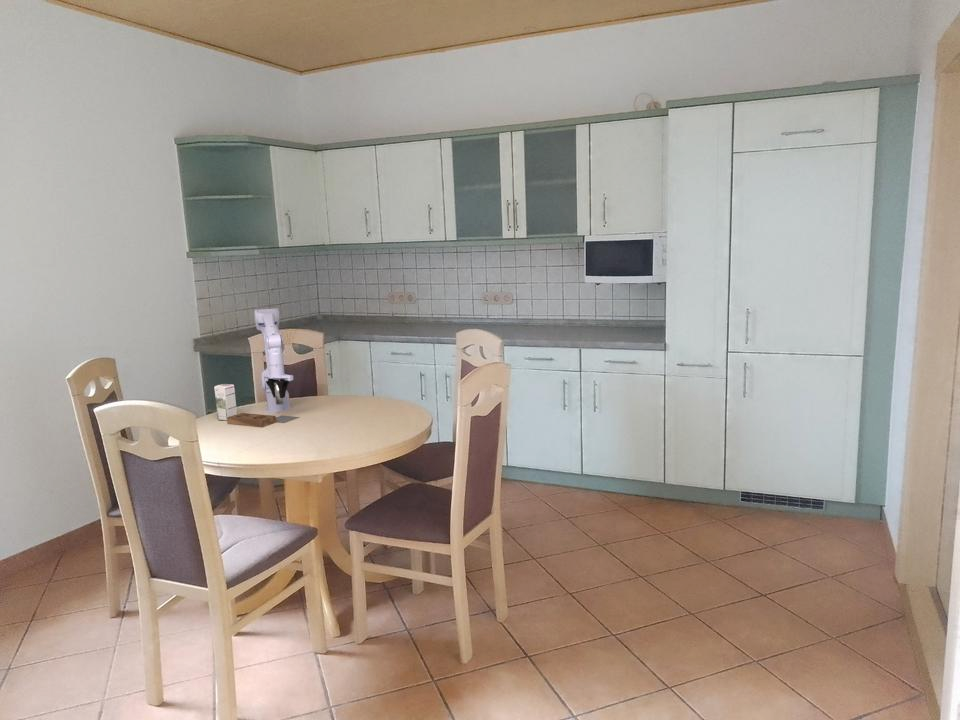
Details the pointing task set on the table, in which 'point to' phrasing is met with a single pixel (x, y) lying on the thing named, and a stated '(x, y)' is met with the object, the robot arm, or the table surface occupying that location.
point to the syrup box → (225, 401)
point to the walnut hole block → (251, 420)
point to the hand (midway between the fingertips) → (279, 397)
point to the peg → (277, 394)
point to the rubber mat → (285, 419)
